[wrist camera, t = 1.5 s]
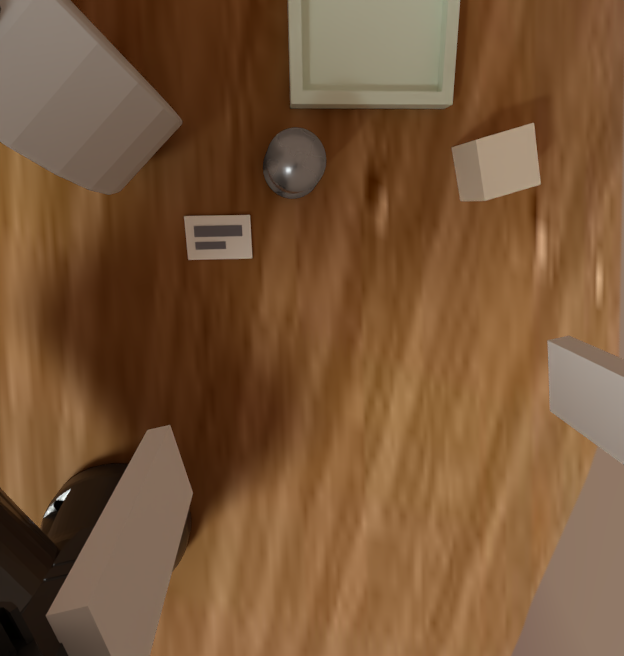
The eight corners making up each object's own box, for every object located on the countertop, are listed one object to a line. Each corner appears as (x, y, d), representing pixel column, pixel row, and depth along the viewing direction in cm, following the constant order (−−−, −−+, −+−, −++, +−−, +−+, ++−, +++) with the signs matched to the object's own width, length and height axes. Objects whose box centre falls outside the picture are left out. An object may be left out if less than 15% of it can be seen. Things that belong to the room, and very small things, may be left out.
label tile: (188, 259, 40) (188, 260, 40) (184, 215, 39) (183, 216, 38) (252, 258, 40) (252, 258, 40) (250, 214, 39) (250, 215, 39)
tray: (290, 108, 37) (291, 103, 35) (285, -89, 33) (285, -105, 31) (444, 108, 38) (452, 104, 37) (457, -82, 34) (467, -97, 33)
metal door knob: (264, 198, 39) (262, 197, 31) (261, 138, 38) (259, 121, 30) (320, 198, 39) (331, 196, 32) (319, 138, 38) (331, 121, 30)
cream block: (460, 201, 41) (485, 201, 36) (451, 147, 39) (475, 139, 35) (509, 186, 41) (540, 184, 36) (502, 132, 39) (534, 122, 35)
